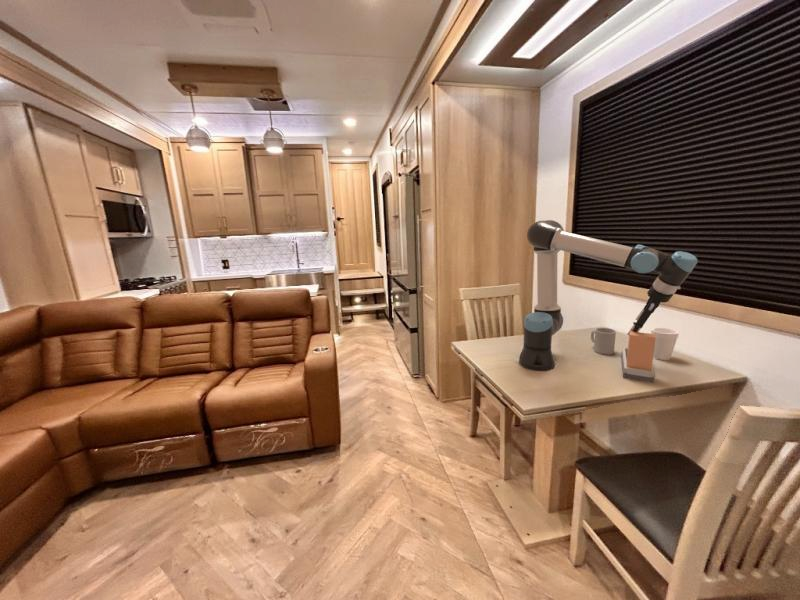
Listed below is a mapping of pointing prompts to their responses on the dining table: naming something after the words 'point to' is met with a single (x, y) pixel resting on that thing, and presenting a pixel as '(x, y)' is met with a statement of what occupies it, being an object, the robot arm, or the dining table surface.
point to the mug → (604, 340)
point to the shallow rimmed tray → (635, 370)
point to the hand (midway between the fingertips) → (634, 328)
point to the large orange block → (640, 350)
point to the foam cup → (664, 342)
